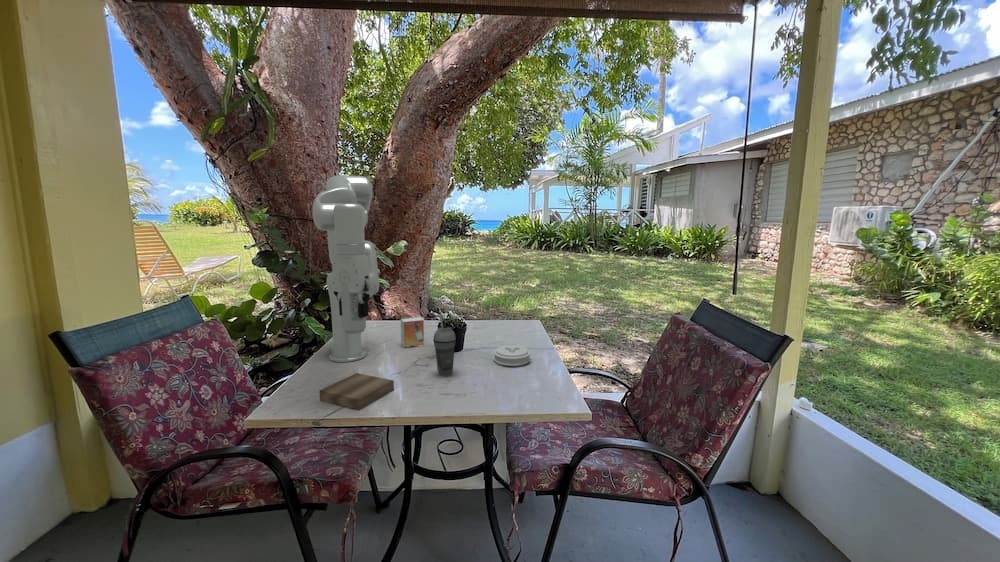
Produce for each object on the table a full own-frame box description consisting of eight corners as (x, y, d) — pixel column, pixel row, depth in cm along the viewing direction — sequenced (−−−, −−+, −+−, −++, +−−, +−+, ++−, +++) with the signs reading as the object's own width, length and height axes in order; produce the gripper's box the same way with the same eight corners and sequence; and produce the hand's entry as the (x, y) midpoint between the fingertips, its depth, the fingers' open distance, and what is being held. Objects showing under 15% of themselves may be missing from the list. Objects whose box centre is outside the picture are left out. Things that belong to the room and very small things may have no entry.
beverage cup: (452, 379, 129) (451, 316, 126) (430, 377, 130) (428, 315, 127) (459, 370, 136) (458, 311, 133) (438, 369, 137) (437, 310, 134)
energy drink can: (358, 327, 119) (355, 275, 116) (370, 331, 115) (368, 277, 112) (338, 331, 114) (335, 278, 112) (350, 335, 110) (347, 280, 108)
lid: (495, 355, 152) (494, 342, 151) (529, 356, 151) (529, 342, 150) (493, 368, 139) (493, 353, 138) (530, 368, 139) (531, 354, 138)
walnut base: (320, 400, 114) (319, 390, 113) (356, 382, 126) (356, 373, 126) (359, 410, 108) (358, 399, 107) (393, 390, 121) (393, 380, 120)
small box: (404, 348, 159) (403, 321, 158) (401, 344, 164) (400, 318, 163) (424, 345, 162) (423, 319, 161) (421, 342, 168) (420, 316, 166)
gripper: (315, 250, 111) (320, 315, 114) (365, 252, 104) (369, 322, 107) (337, 248, 118) (340, 310, 121) (385, 250, 111) (388, 315, 114)
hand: (354, 315), depth 114 cm, fingers closed on energy drink can, 6 cm apart
